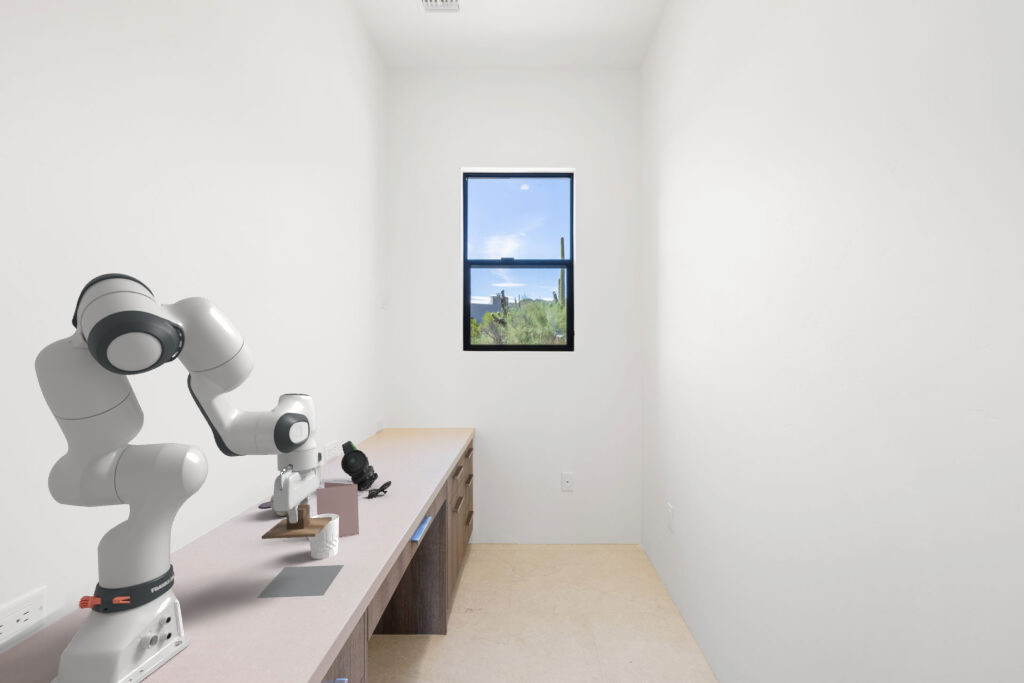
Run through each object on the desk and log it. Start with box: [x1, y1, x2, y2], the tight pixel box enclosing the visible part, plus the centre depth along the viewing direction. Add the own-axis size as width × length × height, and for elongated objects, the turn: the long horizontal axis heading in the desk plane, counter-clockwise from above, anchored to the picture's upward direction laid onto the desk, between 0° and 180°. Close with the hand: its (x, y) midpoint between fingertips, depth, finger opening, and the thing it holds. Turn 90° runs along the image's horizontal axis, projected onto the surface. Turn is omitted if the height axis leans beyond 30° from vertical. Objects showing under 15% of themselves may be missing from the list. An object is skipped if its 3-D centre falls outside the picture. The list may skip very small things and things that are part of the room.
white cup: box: [308, 514, 340, 560], centre depth 136 cm, size 8×8×10 cm
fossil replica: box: [269, 494, 300, 517], centre depth 171 cm, size 12×8×10 cm
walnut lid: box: [261, 504, 332, 540], centre depth 121 cm, size 12×12×5 cm
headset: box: [340, 440, 392, 498], centre depth 195 cm, size 18×14×29 cm
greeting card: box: [315, 481, 360, 538], centre depth 149 cm, size 11×7×15 cm, turn 74°
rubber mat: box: [256, 564, 344, 599], centre depth 121 cm, size 15×15×1 cm
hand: (298, 518), depth 121 cm, fingers closed on walnut lid, 4 cm apart
